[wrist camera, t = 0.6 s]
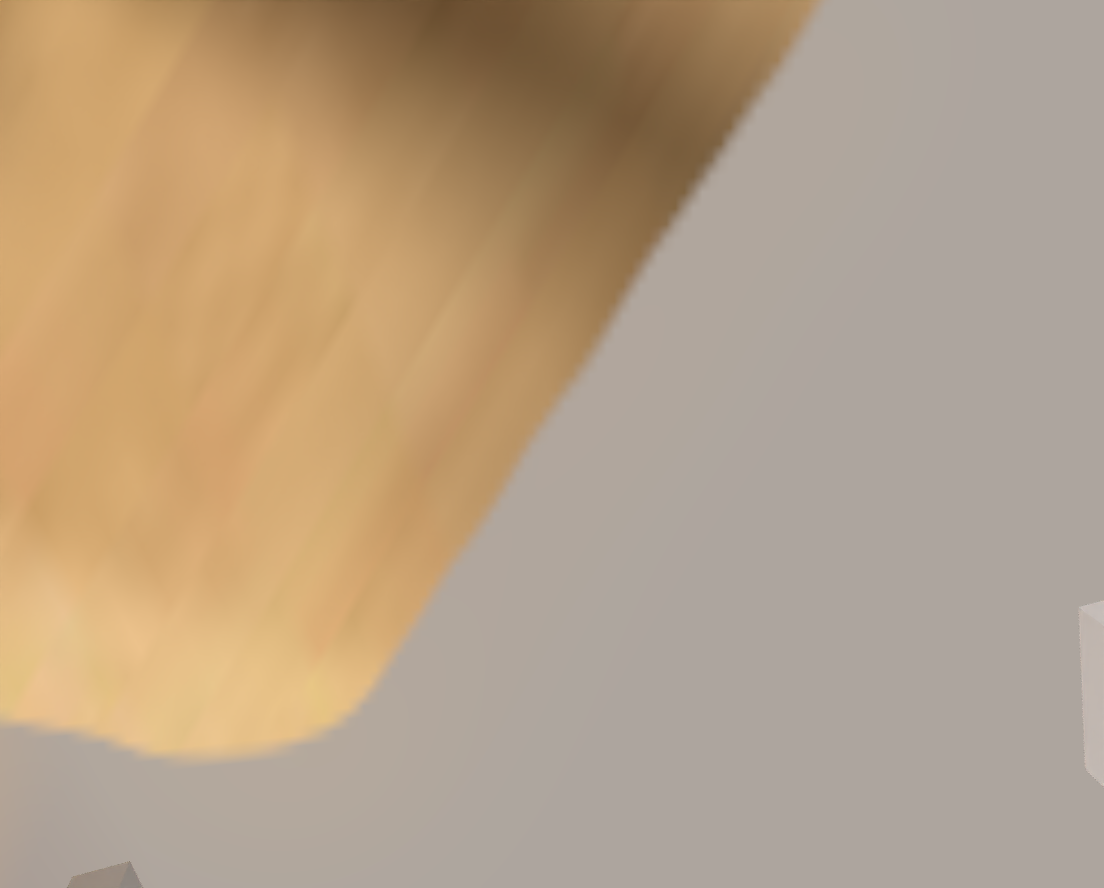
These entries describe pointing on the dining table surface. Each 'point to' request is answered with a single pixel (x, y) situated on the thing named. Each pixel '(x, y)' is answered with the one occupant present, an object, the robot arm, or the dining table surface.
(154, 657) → the dining table surface
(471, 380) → the dining table surface
